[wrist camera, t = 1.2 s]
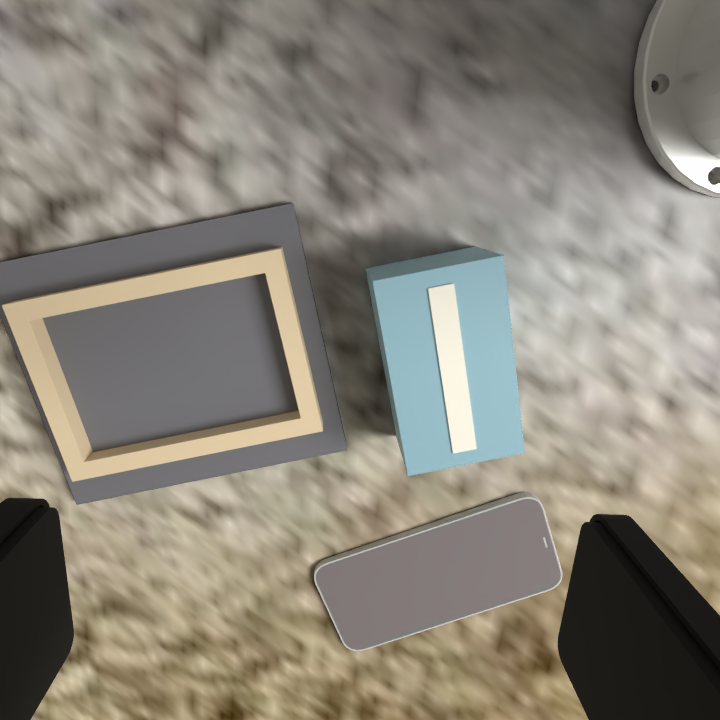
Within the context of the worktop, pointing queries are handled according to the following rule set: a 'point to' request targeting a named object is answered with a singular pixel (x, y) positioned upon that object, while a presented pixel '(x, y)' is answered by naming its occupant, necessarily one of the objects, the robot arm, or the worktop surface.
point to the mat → (174, 353)
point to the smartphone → (440, 572)
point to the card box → (448, 358)
